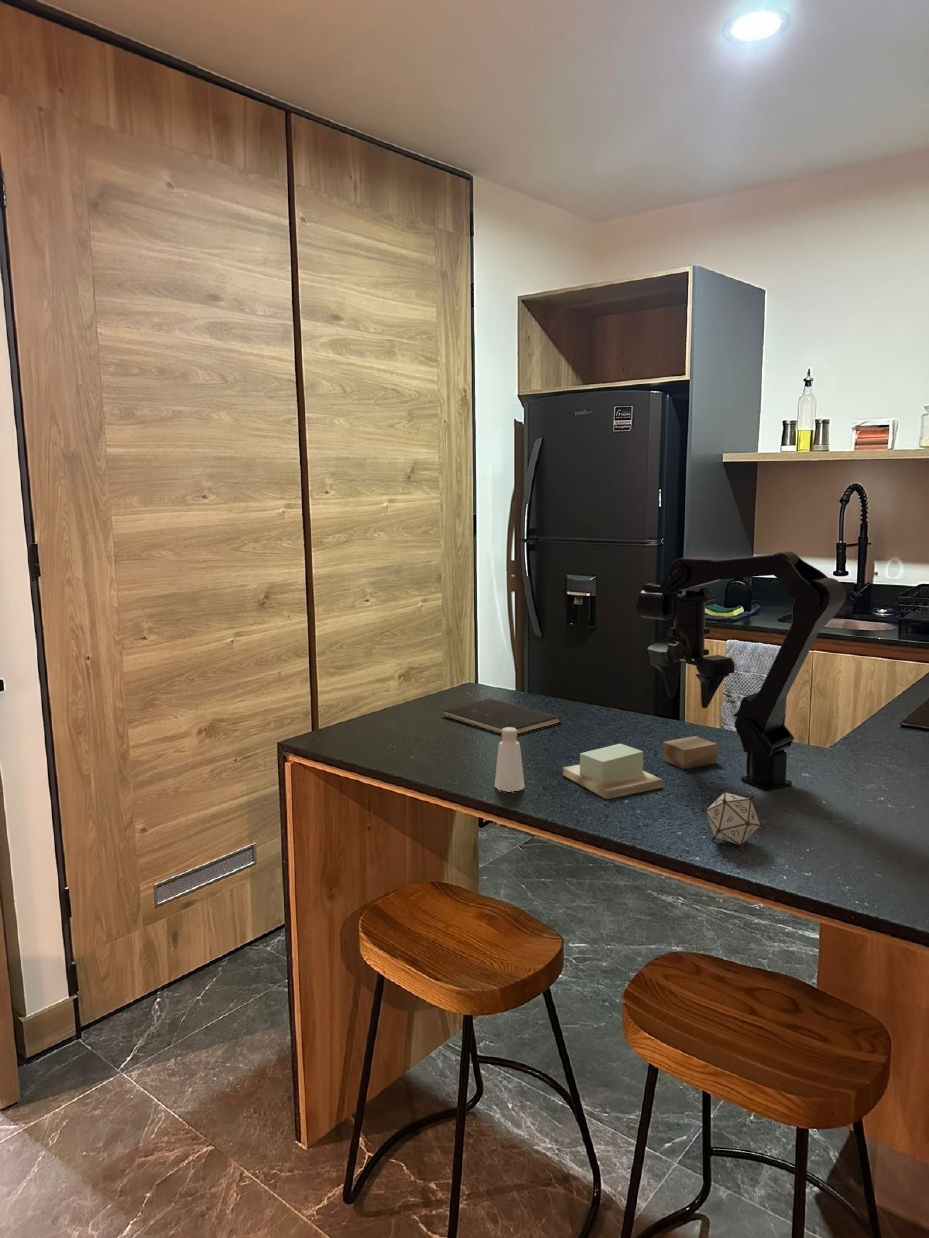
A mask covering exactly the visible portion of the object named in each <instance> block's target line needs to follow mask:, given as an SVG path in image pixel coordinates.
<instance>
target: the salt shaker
mask: <svg viewBox="0 0 929 1238" xmlns="http://www.w3.org/2000/svg"><path fill="white" fill-rule="evenodd" d="M501 732H502V734H501V738H502V739H501V741H499V742H498V749H497V759H496V768H495V769H496V770H495V781H494V787H496V788H497V789H498V790H503V791H507V792H511V791H512V793H514V792H513V791H519V790H521V791H523V790H524V789H525V779H524V778H525V776H524V769H523V760H522V752H521V751H522V750H521V744H520V742H519V741H517V738H518V735H517V734H516V733H517V729H516V728H513V727H506V728H503V729H502V730H501ZM496 788H495V789H496ZM497 789H496V790H497ZM498 790H497V791H498Z"/></svg>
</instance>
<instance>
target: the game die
mask: <svg viewBox="0 0 929 1238" xmlns="http://www.w3.org/2000/svg"><path fill="white" fill-rule="evenodd" d="M726 789H727V788H725V787H724V786H722V788H721V791H722V793H721V794H720V795H719V796H718V797H717V798H716V799H715V800H714V801H713V802H712V803H711V804H710V805H709V806H708V807H707V808H706V809H705V808H700V809H698V810H699V811H700V812H701V813H705V815H706V818H707V821H708V824H709V827H710V829H711V833H712V834H713V836H712V837H711V841H710V842H715V841H716V839H718V840H721V841H725V842H728V843H731V844H735V845H738V846H739V849H740V850H741V851H742V850H743V851H744V849H745V848H744V846H743V845H744V843H745V842H747V840H748V839H749V838H751V837H752V835H753V834H755V832H756V831H757V830H759V828H762V829H765V828H767V826H766V825H765V824H764V823H763V824H761V822H760V819H759V816H758V814H757V811H756V807H755V806H754V803H753V800H754V799H755V795H756V794H753V795H752V794H751V795H750V797H747V796H743V795H740V794H739V795H738V794H735V793H731V792H727V791H726Z"/></svg>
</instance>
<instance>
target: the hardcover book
mask: <svg viewBox="0 0 929 1238" xmlns="http://www.w3.org/2000/svg"><path fill="white" fill-rule="evenodd" d="M441 712H443V714H444V713H445V714H446V715H451V716H453V717H455V718H457V719H462V720H464V721H467V722H471V723H474V724H477V725H479V726H484V727H487V728H489V729H494V730H496V731H498V732H501V730H502V729H503V728H506V727H513V728H516V729H517V733H520V732H525V731H528V730H531V729H536V728H539V727H543V726H548V727H550V726H549V725H552V724H555V723H558V722H560V723H561V717H560V716H557V715H555V714H551V713H548V712H544V711H539V710H535V709H533V708H532V709H531V708H529V707H525V706H520V705H517V704H514V703H510V702H506V701H503V700H500V699H499V700H498V699H495V698H486V699H481V700H477V701H473V702H468V703H463V704H460V705H456V706H451V707H446V708H443V709H441ZM555 725H556V724H555ZM552 726H553V725H552ZM517 733H516V734H517Z"/></svg>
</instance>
